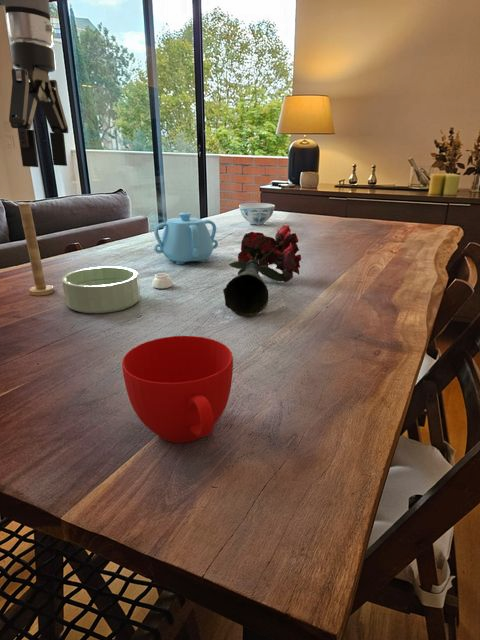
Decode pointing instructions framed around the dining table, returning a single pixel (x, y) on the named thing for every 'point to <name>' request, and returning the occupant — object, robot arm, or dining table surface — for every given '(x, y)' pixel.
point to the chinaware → (256, 212)
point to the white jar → (162, 281)
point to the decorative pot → (186, 239)
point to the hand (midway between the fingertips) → (46, 166)
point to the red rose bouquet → (260, 269)
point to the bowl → (101, 289)
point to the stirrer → (34, 252)
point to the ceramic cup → (179, 385)
